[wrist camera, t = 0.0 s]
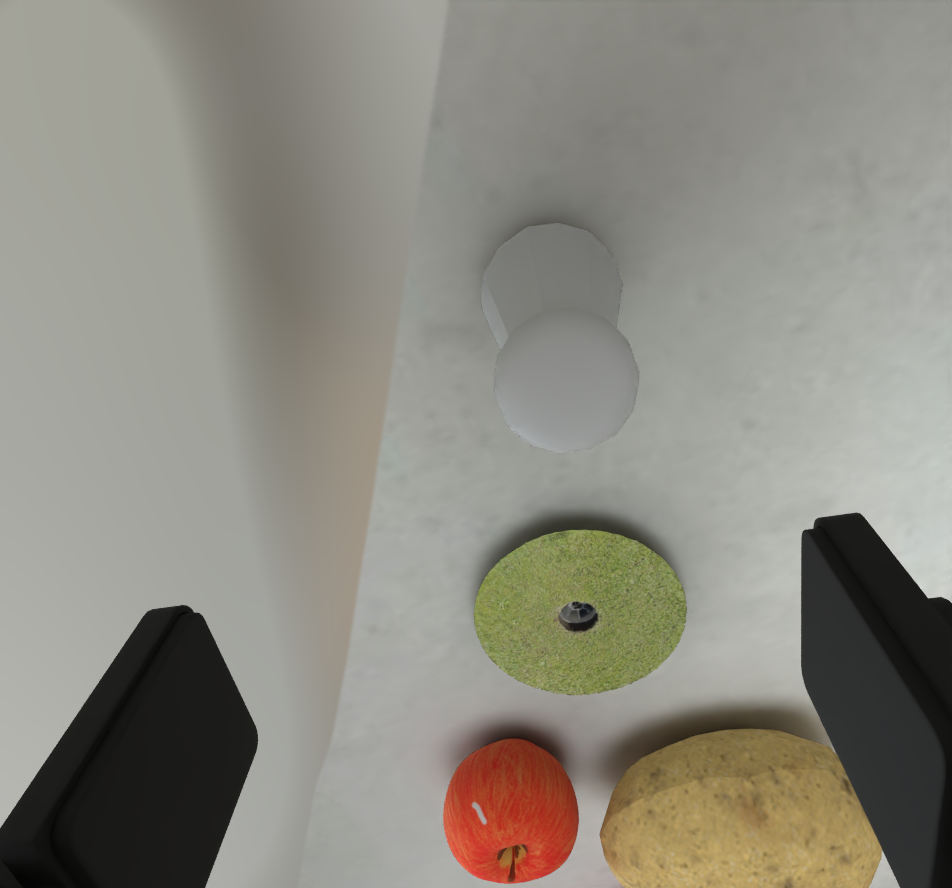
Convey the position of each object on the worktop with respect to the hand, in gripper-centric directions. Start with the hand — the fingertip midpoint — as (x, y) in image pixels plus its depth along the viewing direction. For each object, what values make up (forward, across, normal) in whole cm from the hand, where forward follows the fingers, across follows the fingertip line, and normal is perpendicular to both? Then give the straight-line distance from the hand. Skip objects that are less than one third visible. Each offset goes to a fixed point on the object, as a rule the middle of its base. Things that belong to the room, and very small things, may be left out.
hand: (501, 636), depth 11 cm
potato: (+24, -7, +32) cm, 40 cm away
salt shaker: (+24, -2, +1) cm, 24 cm away
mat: (+24, 0, +19) cm, 30 cm away
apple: (+24, +6, +31) cm, 39 cm away
